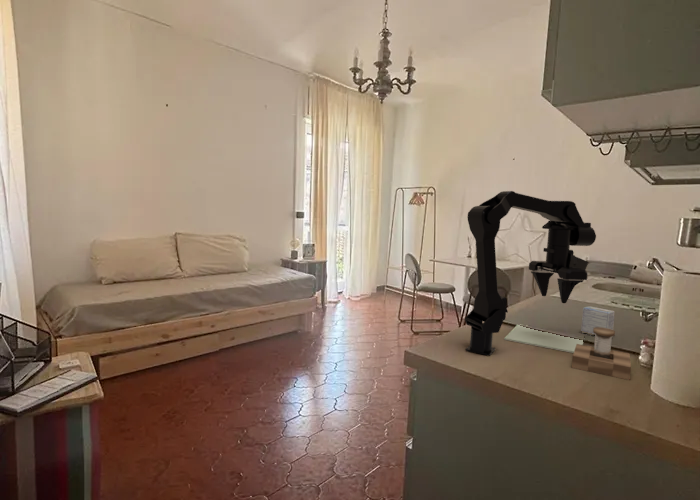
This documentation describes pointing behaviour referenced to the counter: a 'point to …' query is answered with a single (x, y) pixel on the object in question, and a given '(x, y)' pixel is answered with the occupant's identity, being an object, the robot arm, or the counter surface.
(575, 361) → the walnut block
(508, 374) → the counter surface
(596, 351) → the metal peg
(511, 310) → the counter surface
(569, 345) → the sage mat
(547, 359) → the counter surface
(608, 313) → the medicine box
